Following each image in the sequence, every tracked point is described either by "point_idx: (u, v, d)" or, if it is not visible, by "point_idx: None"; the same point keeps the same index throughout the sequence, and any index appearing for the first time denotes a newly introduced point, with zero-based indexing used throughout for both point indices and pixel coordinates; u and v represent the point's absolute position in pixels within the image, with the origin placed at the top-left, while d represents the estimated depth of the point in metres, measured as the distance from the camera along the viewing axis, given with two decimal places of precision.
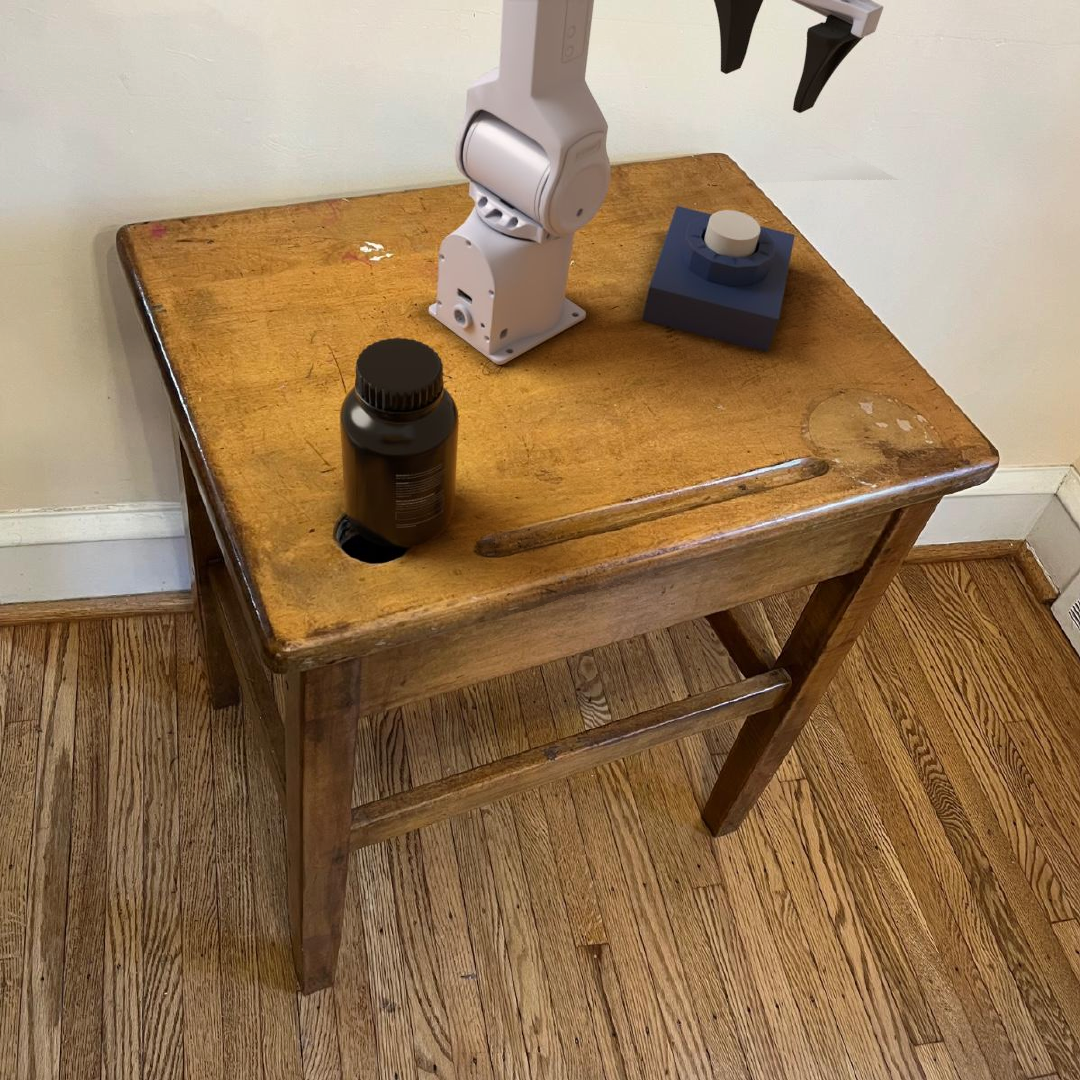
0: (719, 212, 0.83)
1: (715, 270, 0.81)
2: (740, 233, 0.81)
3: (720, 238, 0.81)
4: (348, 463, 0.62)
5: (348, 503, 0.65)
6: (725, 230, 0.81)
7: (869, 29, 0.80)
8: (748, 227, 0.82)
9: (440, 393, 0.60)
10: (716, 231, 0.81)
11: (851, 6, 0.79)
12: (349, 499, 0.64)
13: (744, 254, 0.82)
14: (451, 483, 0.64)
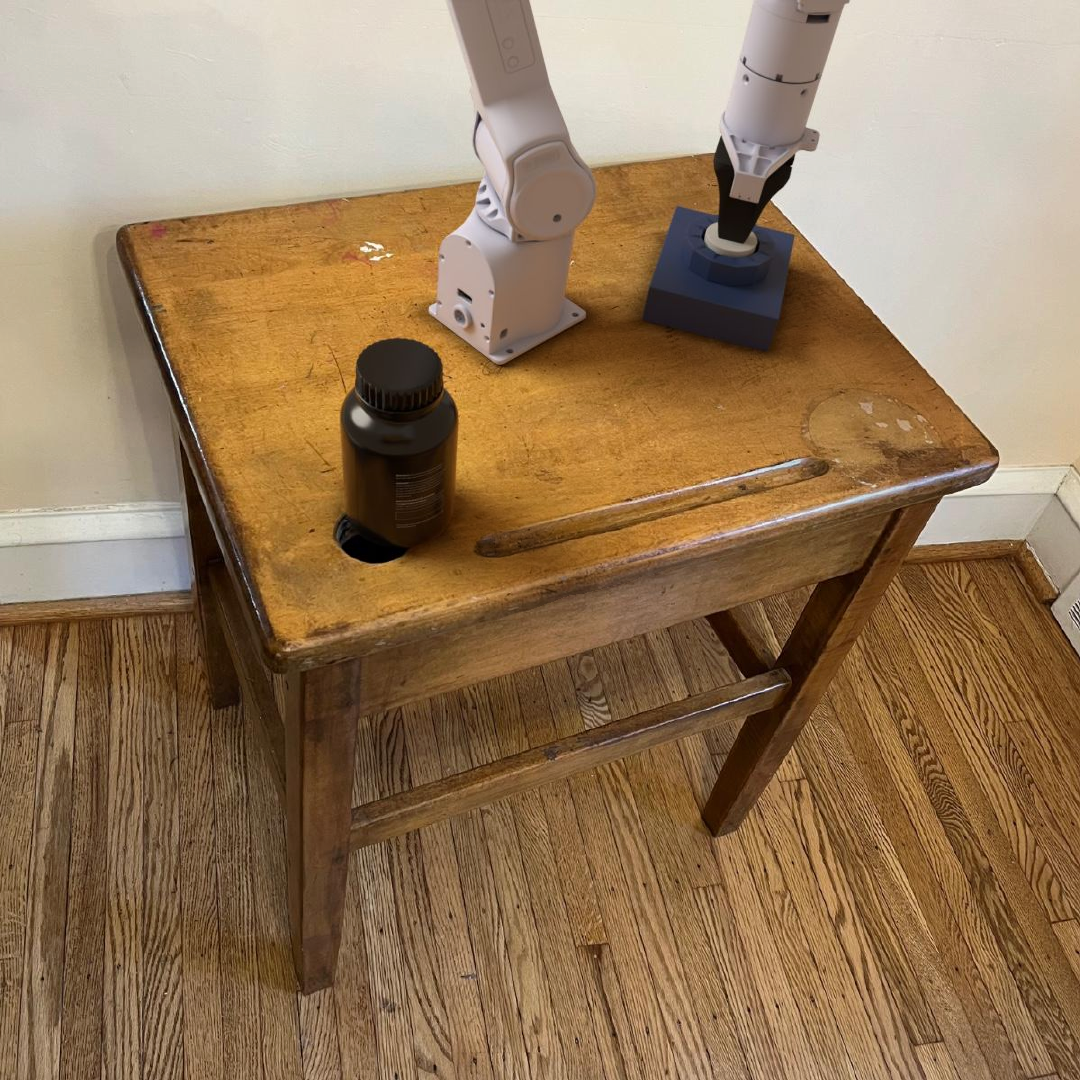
0: (716, 224, 0.84)
1: (715, 270, 0.81)
2: (737, 245, 0.82)
3: (717, 250, 0.82)
4: (348, 463, 0.62)
5: (348, 503, 0.65)
6: (721, 242, 0.82)
7: (743, 193, 0.72)
8: None
9: (440, 393, 0.60)
10: (713, 242, 0.82)
11: (736, 161, 0.72)
12: (349, 499, 0.64)
13: None
14: (451, 483, 0.64)
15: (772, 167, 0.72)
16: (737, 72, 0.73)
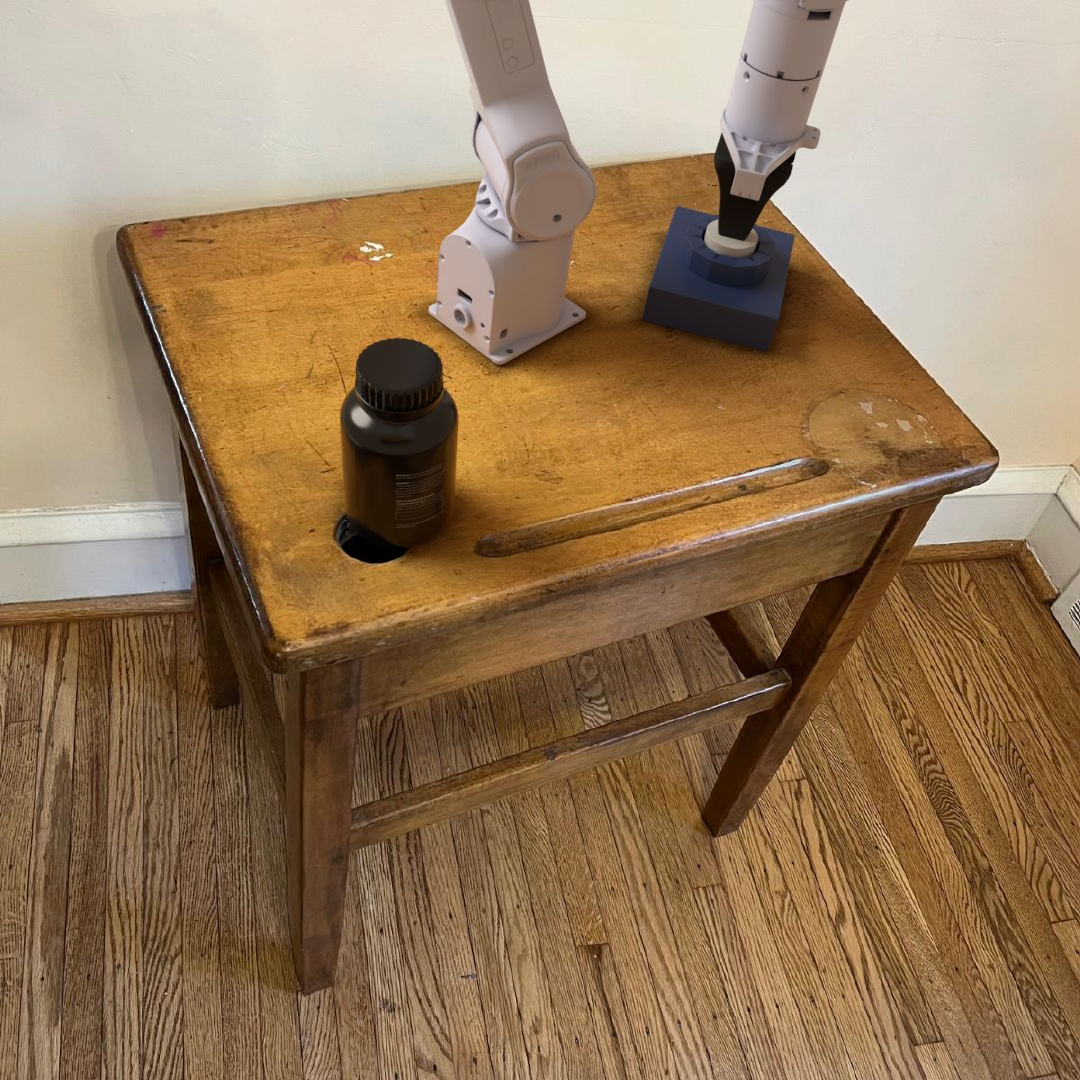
0: (717, 221, 0.83)
1: (715, 270, 0.81)
2: (738, 242, 0.82)
3: (718, 247, 0.82)
4: (348, 463, 0.62)
5: (348, 503, 0.65)
6: (722, 239, 0.82)
7: (744, 191, 0.72)
8: None
9: (440, 393, 0.60)
10: (714, 239, 0.82)
11: (737, 158, 0.72)
12: (349, 499, 0.64)
13: None
14: (451, 483, 0.64)
15: (772, 165, 0.72)
16: (738, 69, 0.73)
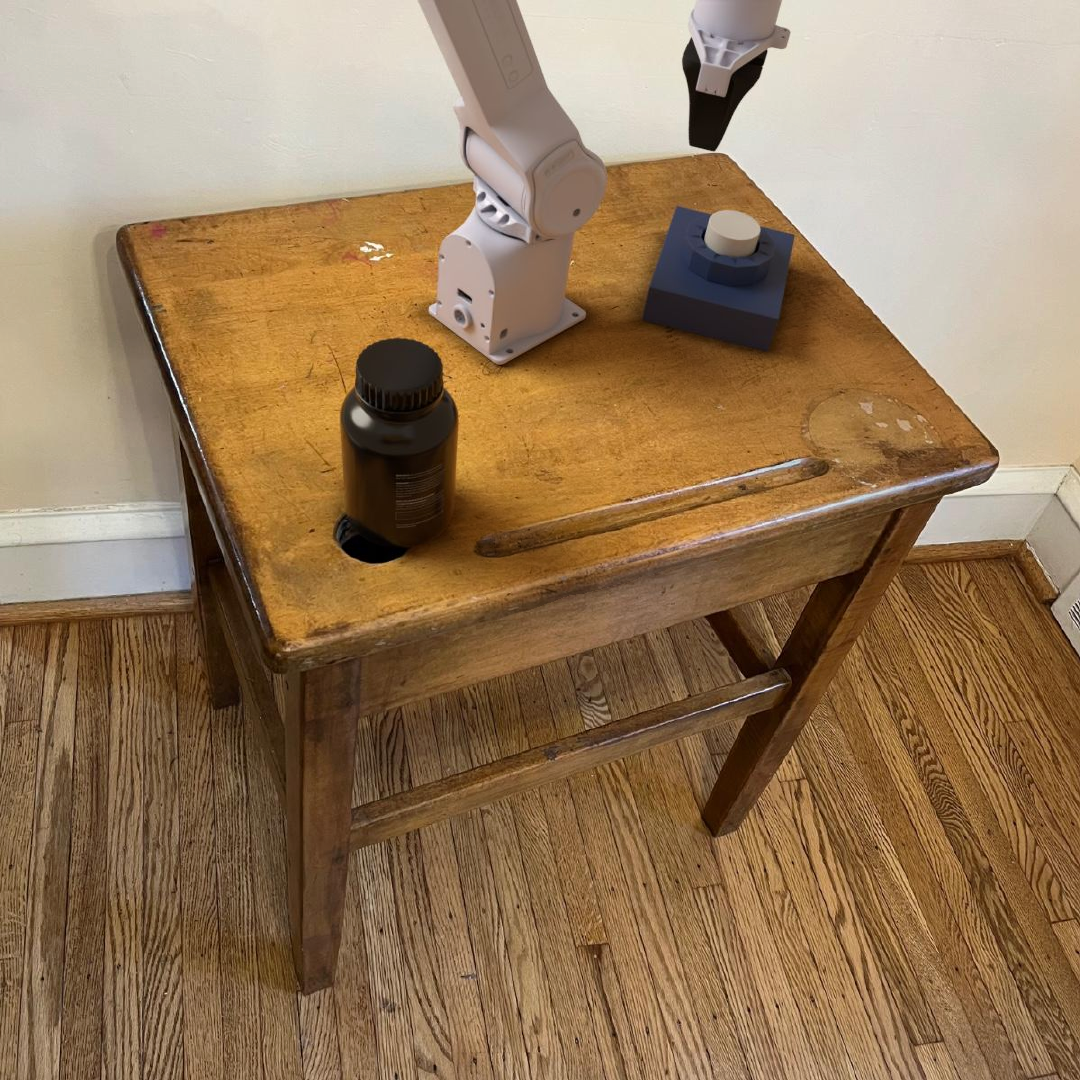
0: (719, 212, 0.83)
1: (715, 270, 0.81)
2: (740, 233, 0.81)
3: (720, 238, 0.81)
4: (348, 463, 0.62)
5: (348, 503, 0.65)
6: (725, 230, 0.81)
7: (709, 86, 0.71)
8: (748, 227, 0.82)
9: (440, 393, 0.60)
10: (716, 231, 0.81)
11: (702, 53, 0.71)
12: (349, 499, 0.64)
13: (744, 254, 0.82)
14: (451, 483, 0.64)
15: (739, 60, 0.71)
16: None
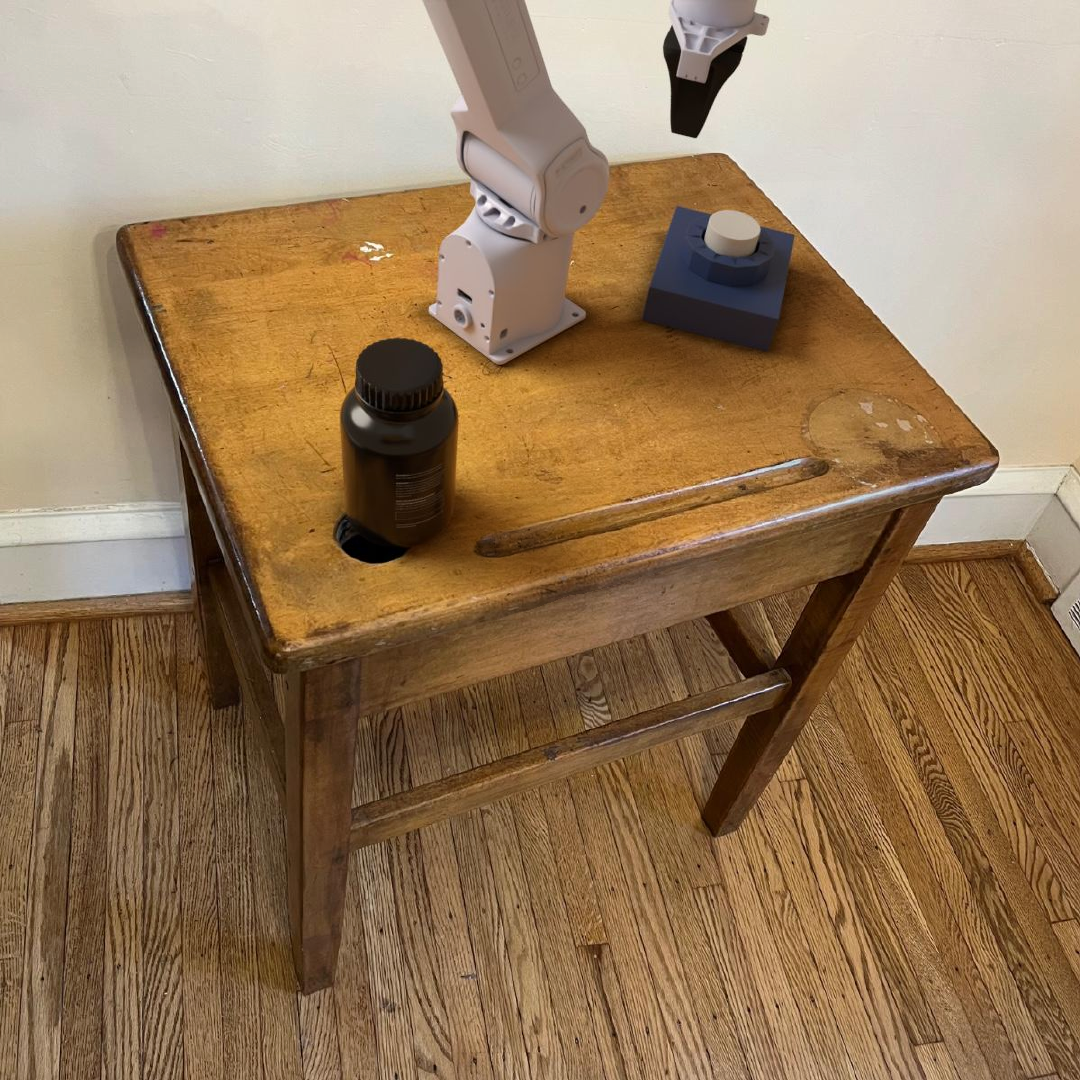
0: (719, 212, 0.83)
1: (715, 270, 0.81)
2: (740, 233, 0.81)
3: (720, 238, 0.81)
4: (348, 463, 0.62)
5: (348, 503, 0.65)
6: (725, 230, 0.81)
7: (690, 73, 0.72)
8: (748, 227, 0.82)
9: (440, 393, 0.60)
10: (716, 231, 0.81)
11: (682, 40, 0.72)
12: (349, 499, 0.64)
13: (744, 254, 0.82)
14: (451, 483, 0.64)
15: (718, 46, 0.72)
16: None
